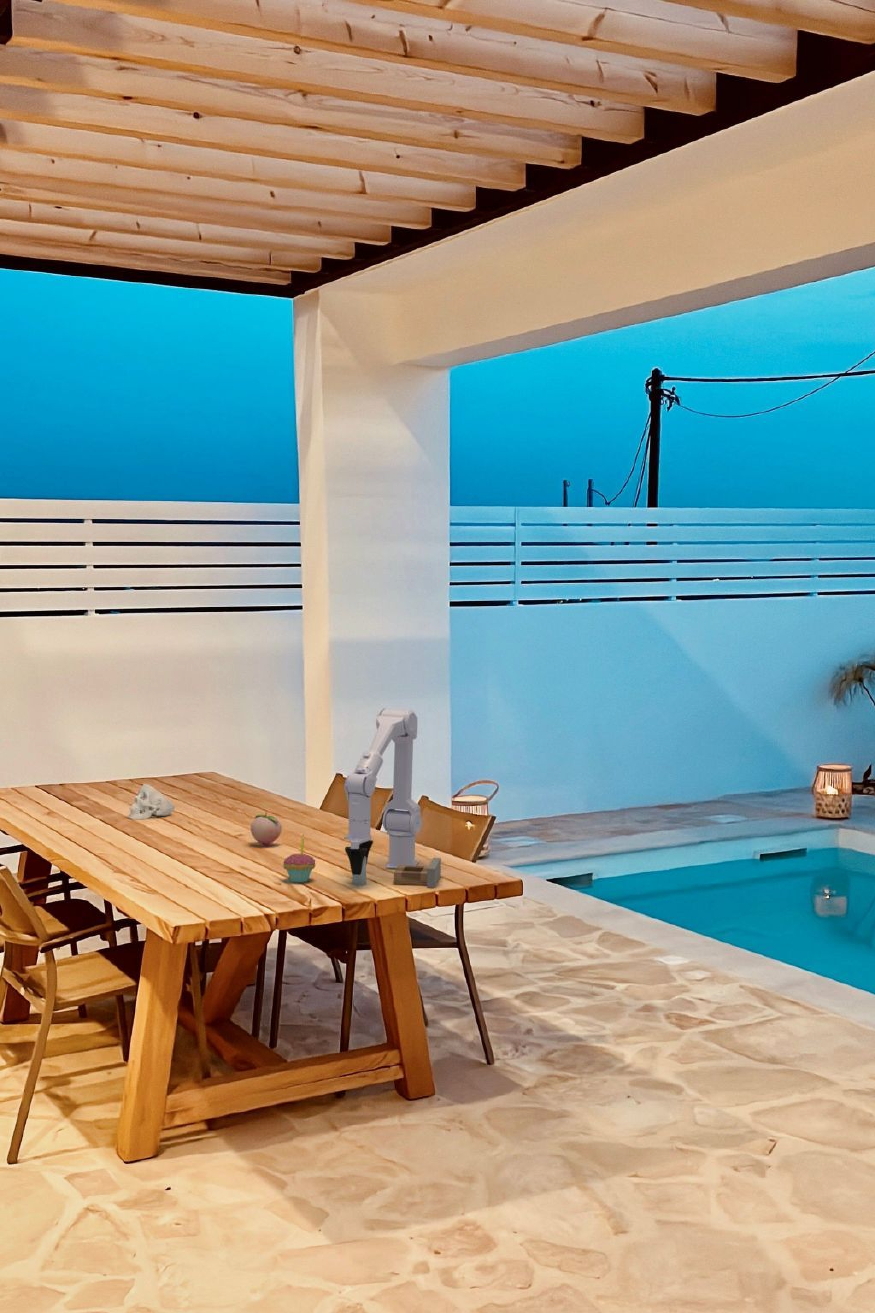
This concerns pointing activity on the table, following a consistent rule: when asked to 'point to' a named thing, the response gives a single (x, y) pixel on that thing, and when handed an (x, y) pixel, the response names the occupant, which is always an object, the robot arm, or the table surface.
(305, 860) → the cupcake
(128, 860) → the table surface
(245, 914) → the table surface
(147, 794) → the skull bowl
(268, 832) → the decorative fruit
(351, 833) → the robot arm
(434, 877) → the wall
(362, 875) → the dowel
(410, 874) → the brown square frame
